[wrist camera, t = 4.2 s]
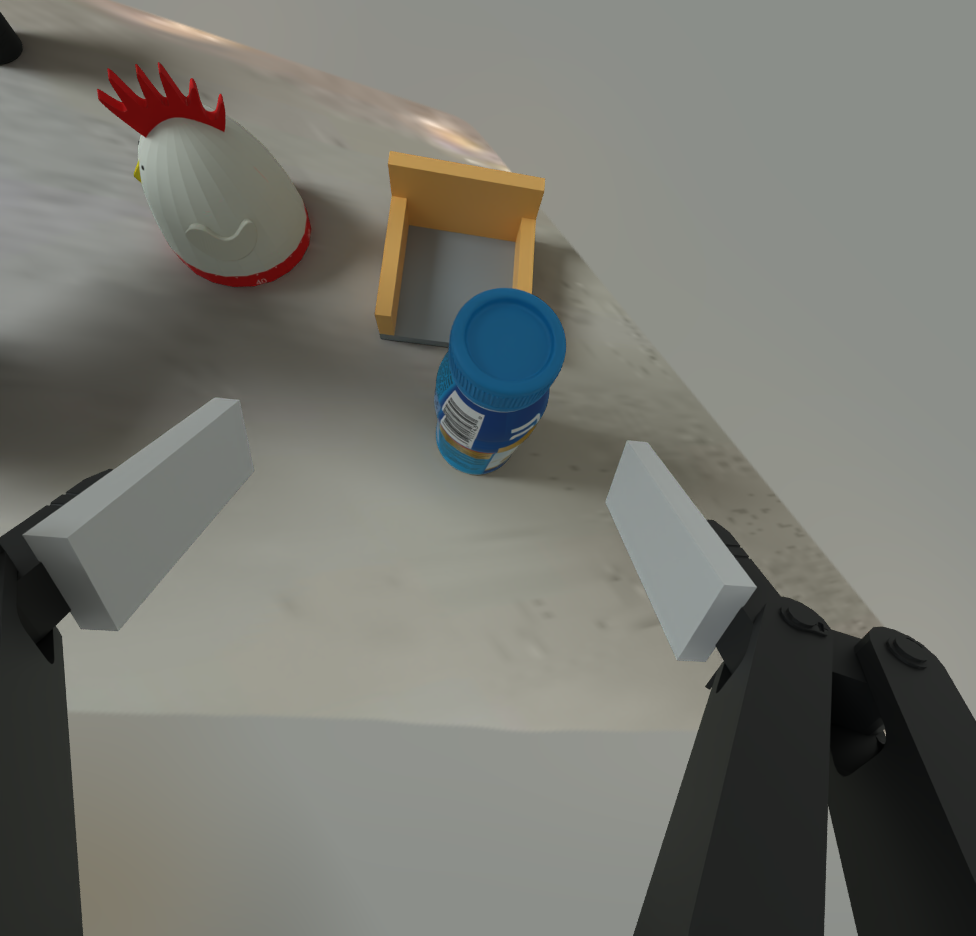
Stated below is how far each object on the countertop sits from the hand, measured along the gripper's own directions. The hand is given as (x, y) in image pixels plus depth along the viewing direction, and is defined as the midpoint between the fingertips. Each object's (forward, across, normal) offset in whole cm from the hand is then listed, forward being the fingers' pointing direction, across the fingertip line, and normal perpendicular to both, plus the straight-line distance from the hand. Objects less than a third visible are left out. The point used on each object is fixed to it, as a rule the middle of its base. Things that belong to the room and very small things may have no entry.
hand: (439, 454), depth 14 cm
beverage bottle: (+25, +3, -12) cm, 28 cm away
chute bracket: (+37, -1, 0) cm, 37 cm away
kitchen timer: (+39, -24, +2) cm, 46 cm away
